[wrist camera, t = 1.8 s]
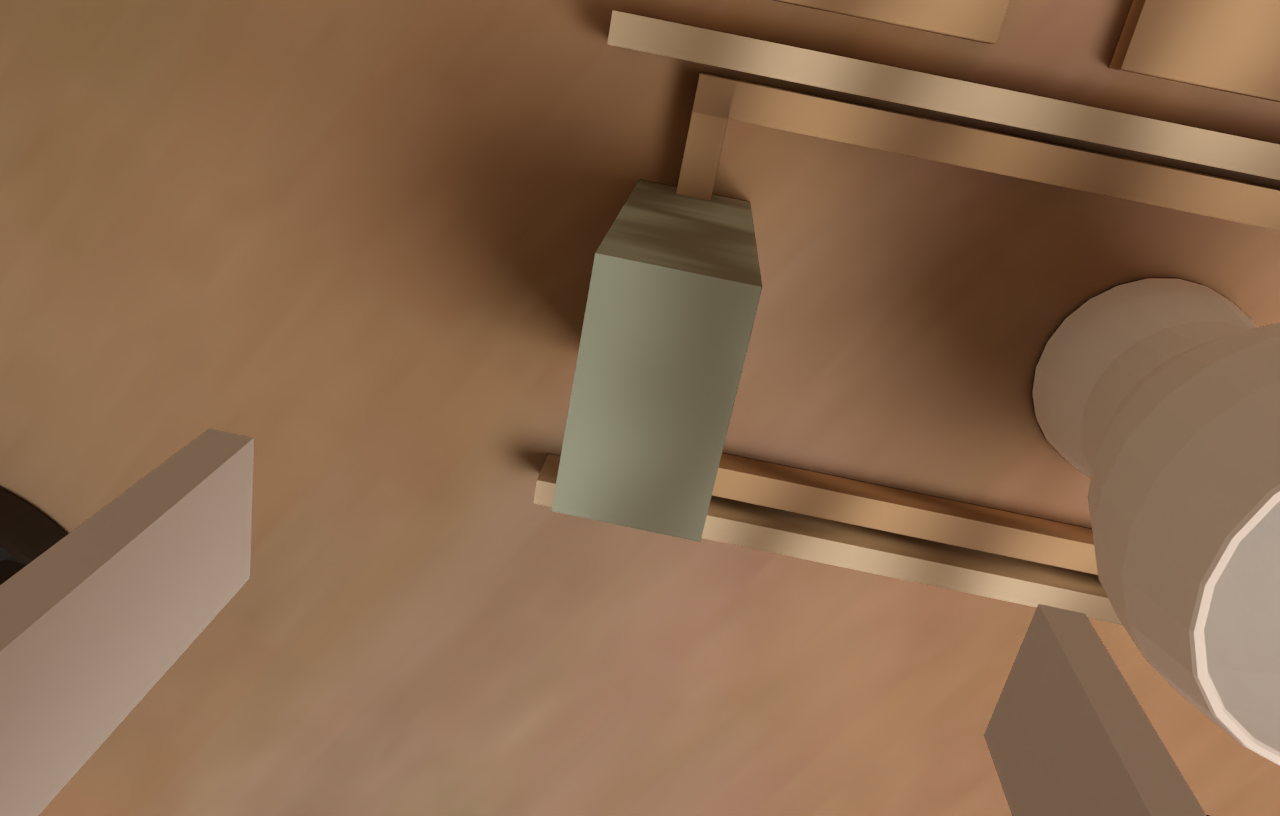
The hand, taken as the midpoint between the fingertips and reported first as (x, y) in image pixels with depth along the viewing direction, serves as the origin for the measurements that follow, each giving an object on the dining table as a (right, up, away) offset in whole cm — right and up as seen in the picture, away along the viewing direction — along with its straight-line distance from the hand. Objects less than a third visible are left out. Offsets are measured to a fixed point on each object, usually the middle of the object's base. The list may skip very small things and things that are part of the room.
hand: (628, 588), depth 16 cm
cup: (+18, +4, +19) cm, 27 cm away
